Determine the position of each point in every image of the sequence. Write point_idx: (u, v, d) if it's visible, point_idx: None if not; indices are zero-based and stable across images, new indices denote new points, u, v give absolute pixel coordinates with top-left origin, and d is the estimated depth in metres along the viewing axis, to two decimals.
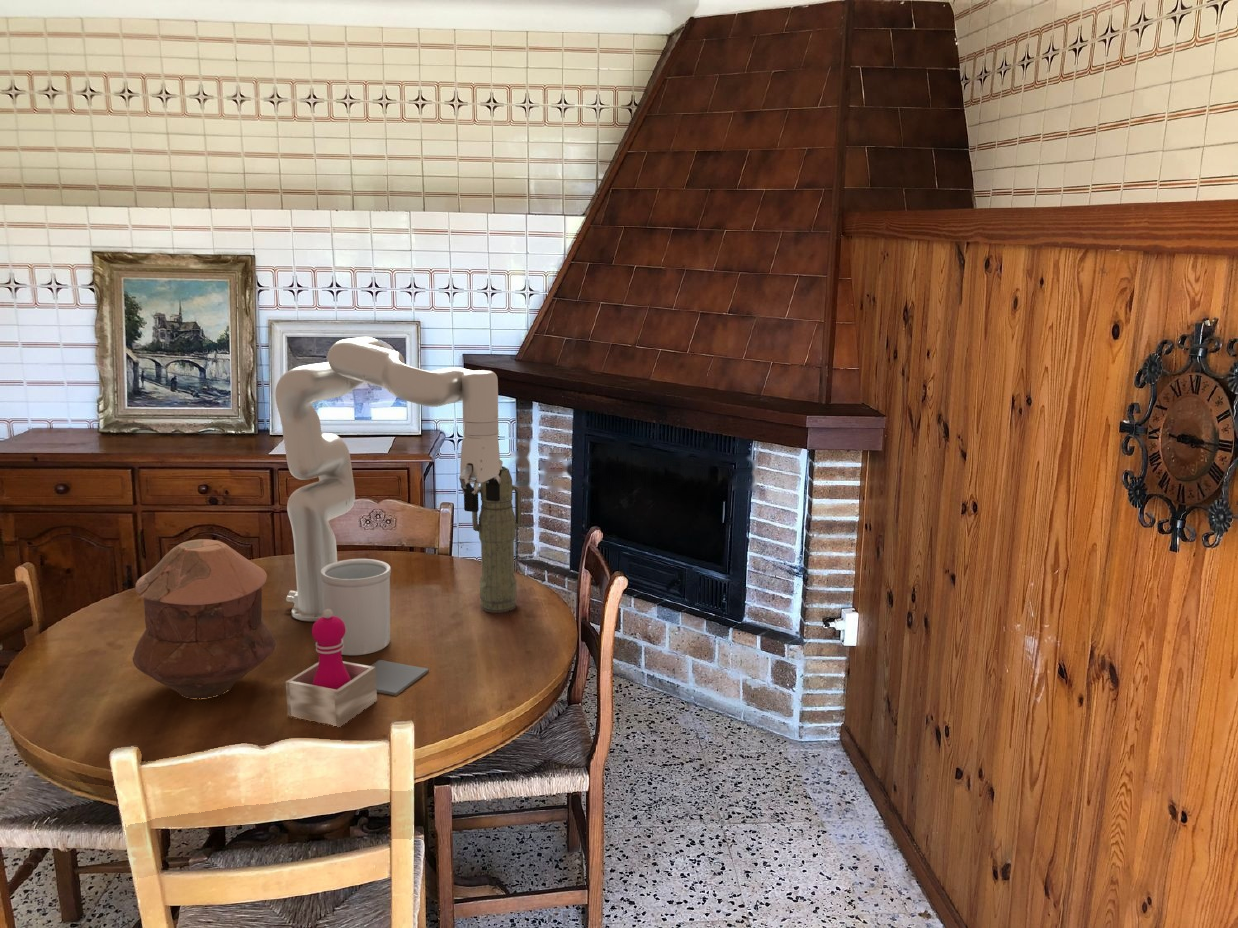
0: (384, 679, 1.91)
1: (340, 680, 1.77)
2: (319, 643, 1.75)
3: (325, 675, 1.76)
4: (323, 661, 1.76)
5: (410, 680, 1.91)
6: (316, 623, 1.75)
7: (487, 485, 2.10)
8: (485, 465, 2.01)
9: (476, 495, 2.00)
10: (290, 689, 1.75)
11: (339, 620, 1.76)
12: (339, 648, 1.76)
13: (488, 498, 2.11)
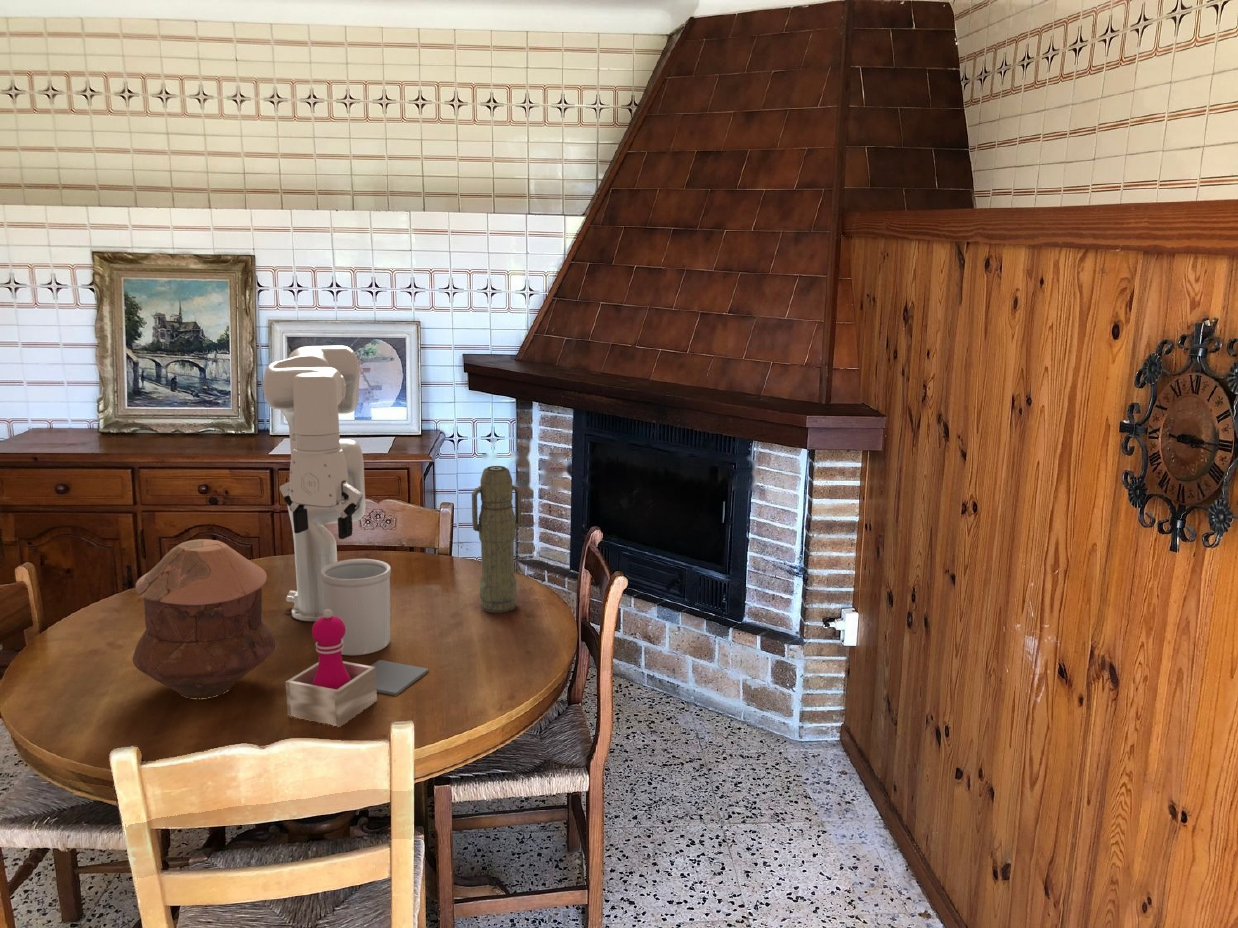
0: (384, 679, 1.91)
1: (340, 680, 1.77)
2: (319, 643, 1.75)
3: (325, 675, 1.76)
4: (323, 661, 1.76)
5: (410, 680, 1.91)
6: (316, 623, 1.75)
7: (298, 514, 1.73)
8: None
9: None
10: (290, 689, 1.75)
11: (339, 620, 1.76)
12: (339, 648, 1.76)
13: (299, 530, 1.73)
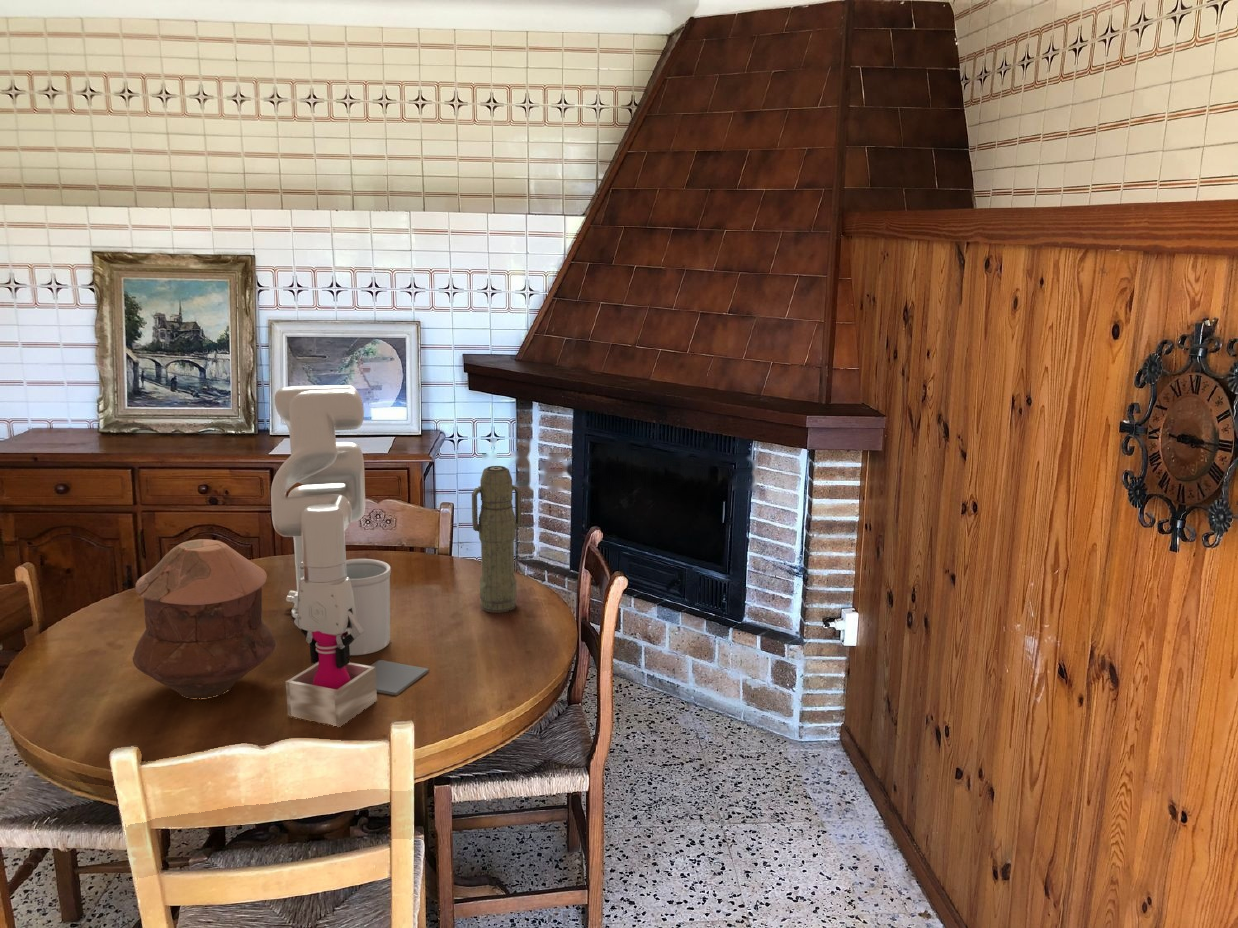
0: (384, 679, 1.91)
1: (340, 680, 1.77)
2: (319, 643, 1.75)
3: (325, 675, 1.76)
4: (323, 661, 1.76)
5: (410, 680, 1.91)
6: None
7: (314, 646, 1.77)
8: None
9: None
10: (290, 689, 1.75)
11: None
12: None
13: (316, 660, 1.78)
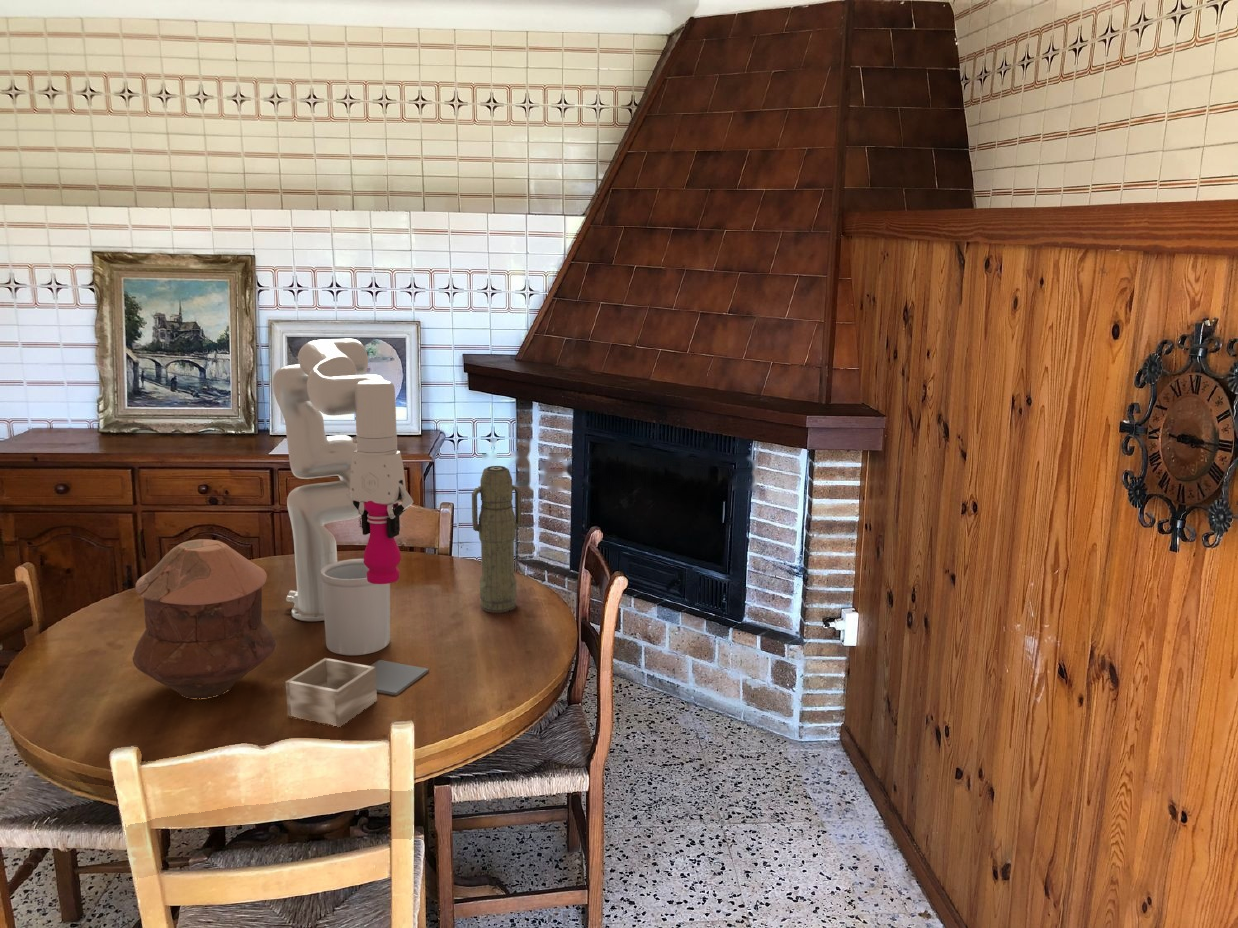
0: (384, 679, 1.91)
1: (390, 549, 1.85)
2: (371, 513, 1.84)
3: (376, 544, 1.84)
4: (374, 531, 1.84)
5: (410, 680, 1.91)
6: None
7: (366, 517, 1.86)
8: None
9: None
10: (290, 689, 1.75)
11: None
12: None
13: (367, 531, 1.86)
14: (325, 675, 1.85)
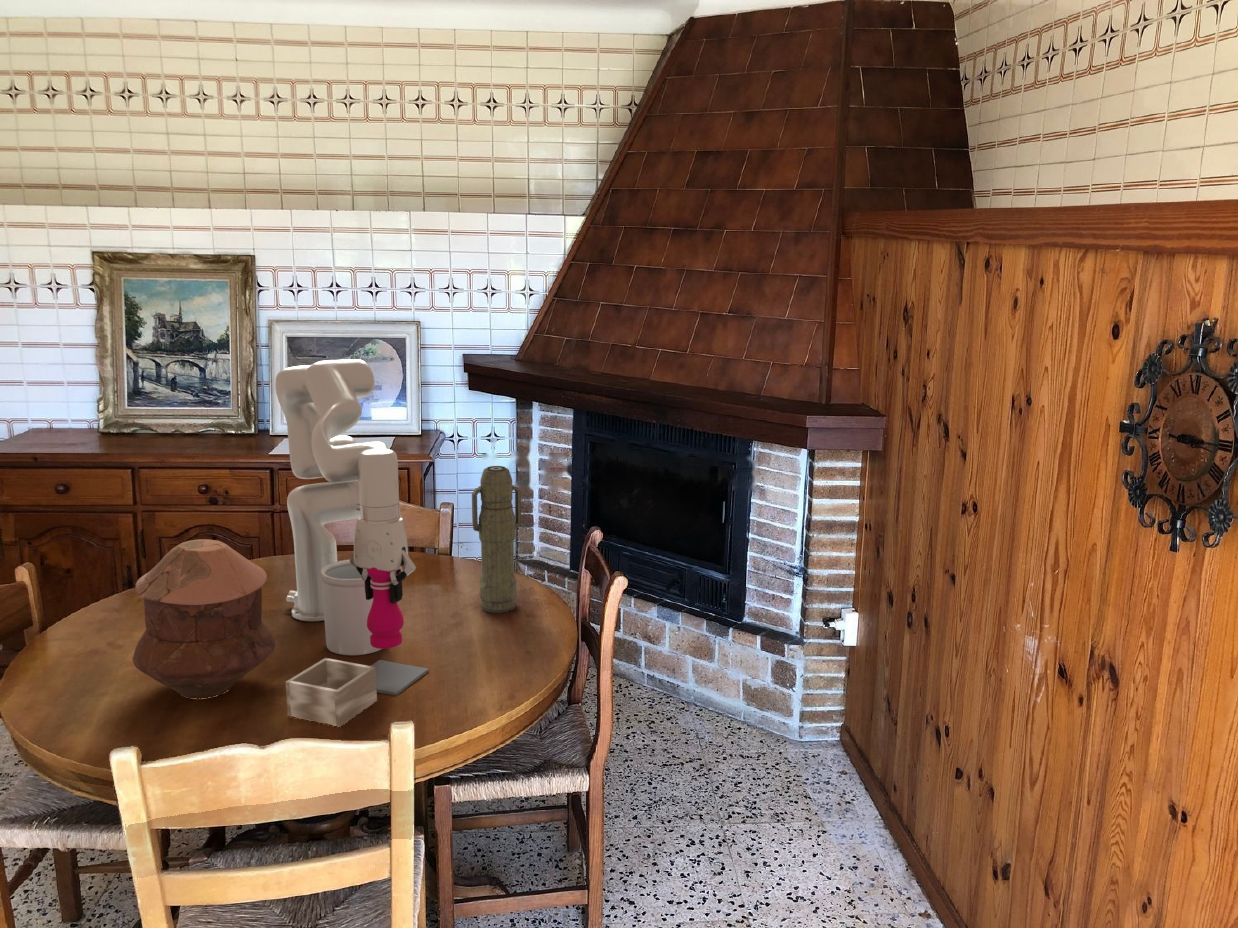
0: (384, 679, 1.91)
1: (393, 614, 1.88)
2: (374, 580, 1.87)
3: (379, 610, 1.87)
4: (377, 597, 1.87)
5: (410, 680, 1.91)
6: None
7: (369, 583, 1.89)
8: None
9: None
10: (290, 689, 1.75)
11: None
12: None
13: (370, 596, 1.89)
14: (325, 675, 1.85)
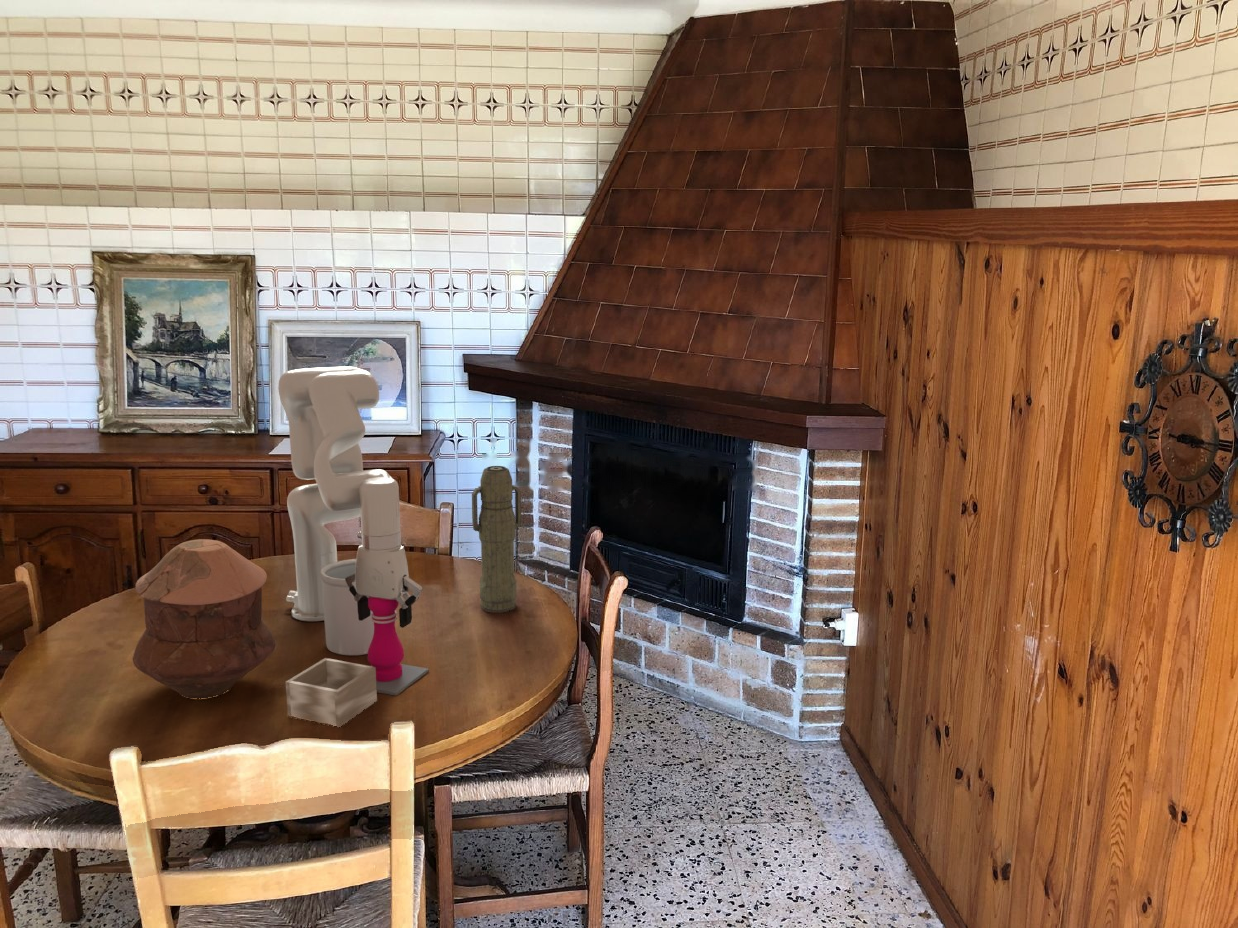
0: None
1: (394, 648, 1.90)
2: (375, 613, 1.88)
3: (380, 643, 1.89)
4: (378, 630, 1.89)
5: (410, 680, 1.91)
6: None
7: (362, 604, 1.90)
8: None
9: None
10: (290, 689, 1.75)
11: None
12: (393, 618, 1.89)
13: (363, 617, 1.91)
14: (325, 675, 1.85)
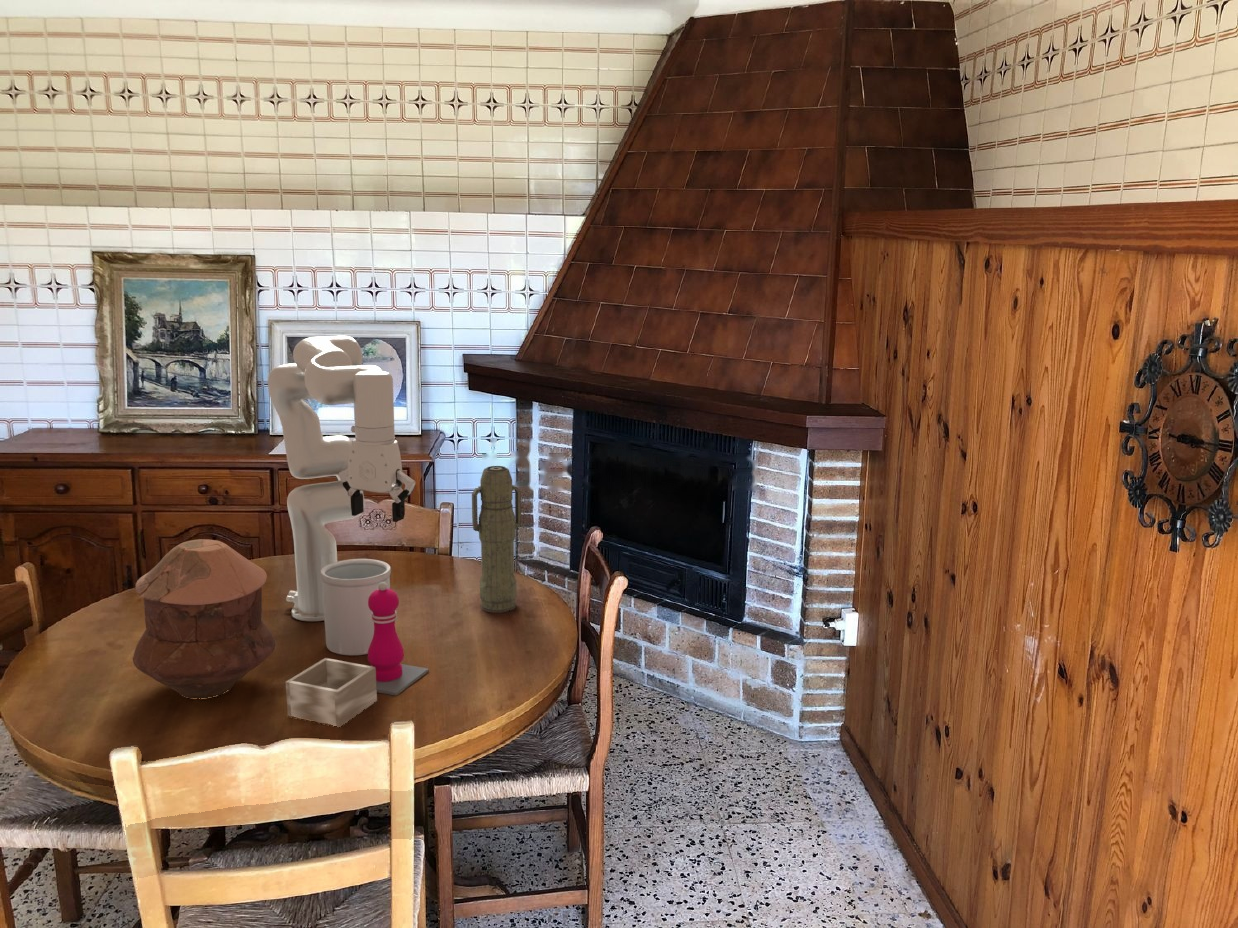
0: None
1: (394, 648, 1.90)
2: (375, 613, 1.88)
3: (380, 643, 1.89)
4: (378, 630, 1.89)
5: (410, 680, 1.91)
6: (372, 595, 1.88)
7: (355, 499, 1.90)
8: None
9: None
10: (290, 689, 1.75)
11: (393, 592, 1.89)
12: (393, 618, 1.89)
13: (356, 513, 1.91)
14: (325, 675, 1.85)
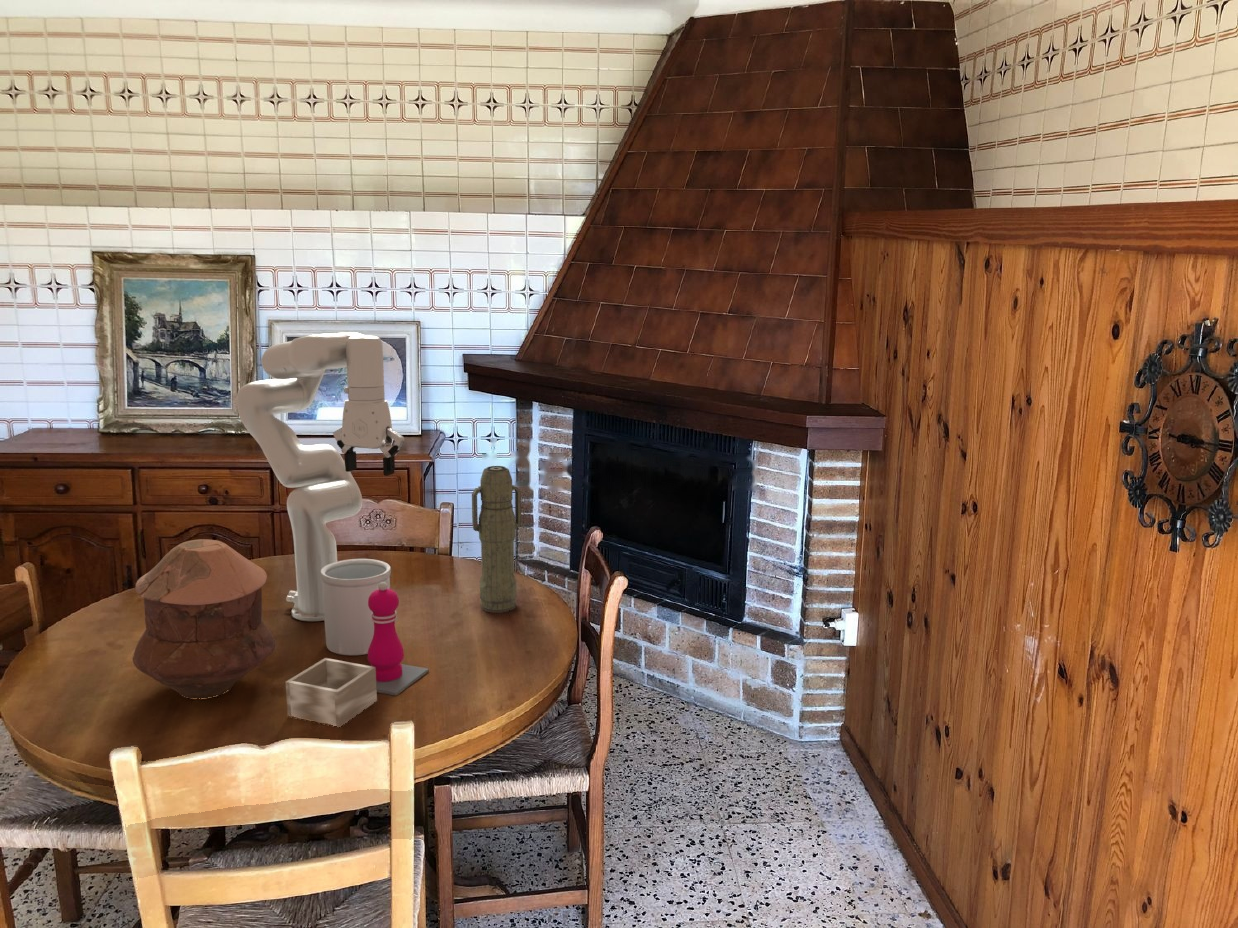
0: None
1: (394, 648, 1.90)
2: (375, 613, 1.88)
3: (380, 643, 1.89)
4: (378, 630, 1.89)
5: (410, 680, 1.91)
6: (372, 595, 1.88)
7: (348, 456, 2.05)
8: None
9: None
10: (290, 689, 1.75)
11: (393, 592, 1.89)
12: (393, 618, 1.89)
13: (350, 469, 2.06)
14: (325, 675, 1.85)
